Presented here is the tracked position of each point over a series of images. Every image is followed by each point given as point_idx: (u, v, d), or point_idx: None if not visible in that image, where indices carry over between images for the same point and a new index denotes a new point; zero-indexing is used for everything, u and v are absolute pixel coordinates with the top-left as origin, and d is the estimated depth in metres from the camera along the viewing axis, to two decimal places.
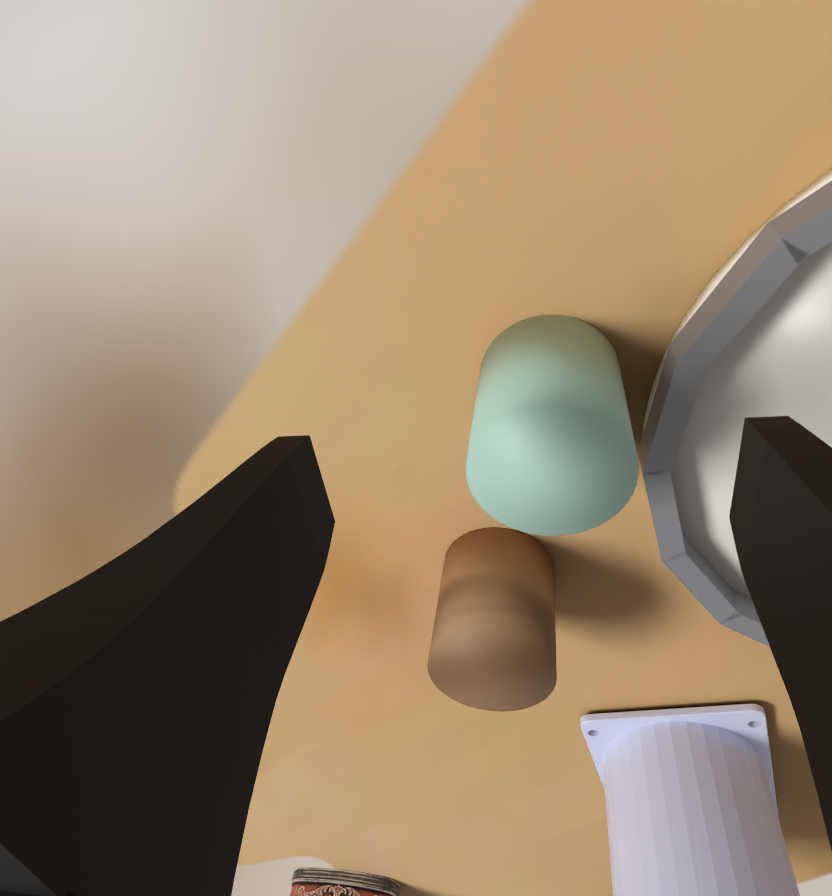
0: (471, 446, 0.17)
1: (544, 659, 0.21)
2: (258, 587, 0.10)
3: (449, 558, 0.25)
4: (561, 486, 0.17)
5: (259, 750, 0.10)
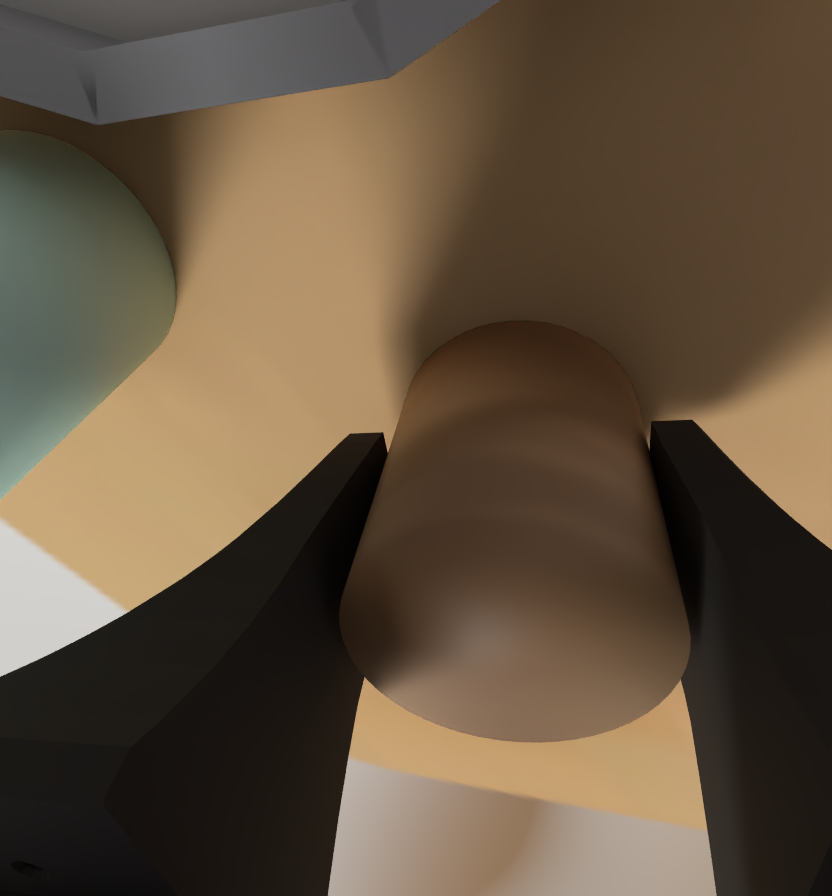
0: None
1: (448, 529, 0.07)
2: None
3: None
4: None
5: (346, 756, 0.09)
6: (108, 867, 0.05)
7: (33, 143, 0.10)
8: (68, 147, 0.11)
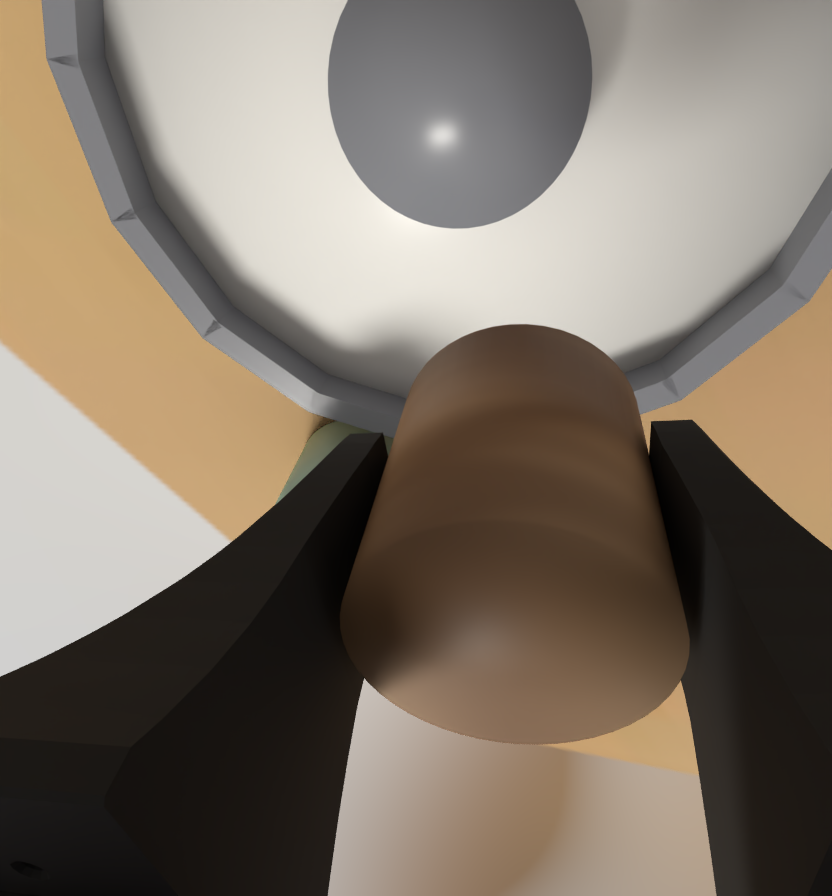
0: None
1: (448, 533, 0.07)
2: (344, 588, 0.09)
3: None
4: None
5: (345, 756, 0.09)
6: (107, 867, 0.05)
7: None
8: None
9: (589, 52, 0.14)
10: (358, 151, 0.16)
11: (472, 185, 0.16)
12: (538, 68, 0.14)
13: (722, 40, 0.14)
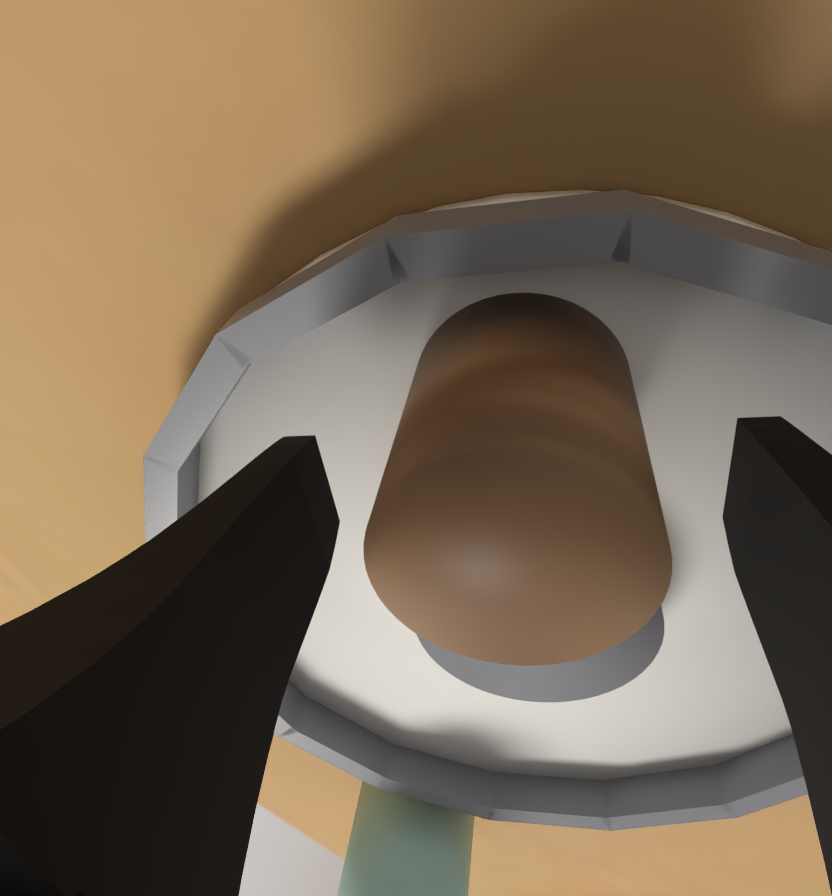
0: None
1: (461, 462, 0.08)
2: (265, 587, 0.10)
3: None
4: None
5: (266, 751, 0.09)
6: None
7: None
8: None
9: (662, 617, 0.15)
10: (438, 649, 0.17)
11: (545, 679, 0.17)
12: None
13: None
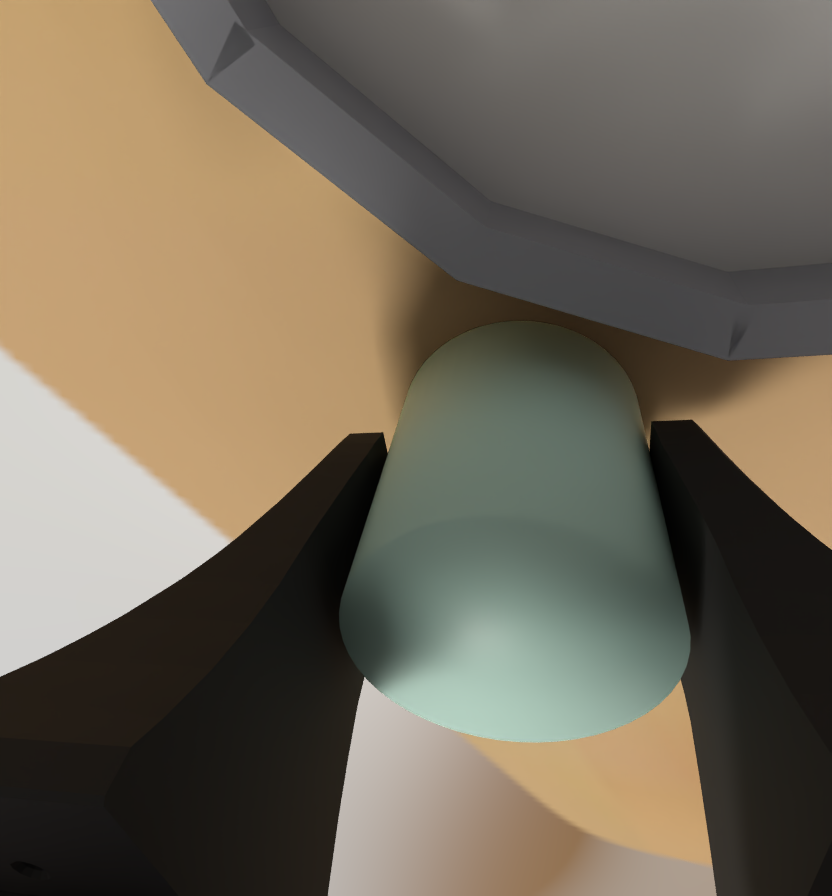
0: (425, 717, 0.10)
1: None
2: None
3: None
4: (544, 637, 0.08)
5: (345, 756, 0.09)
6: (108, 867, 0.05)
7: (565, 340, 0.11)
8: (579, 336, 0.11)
9: None
10: None
11: None
12: None
13: None
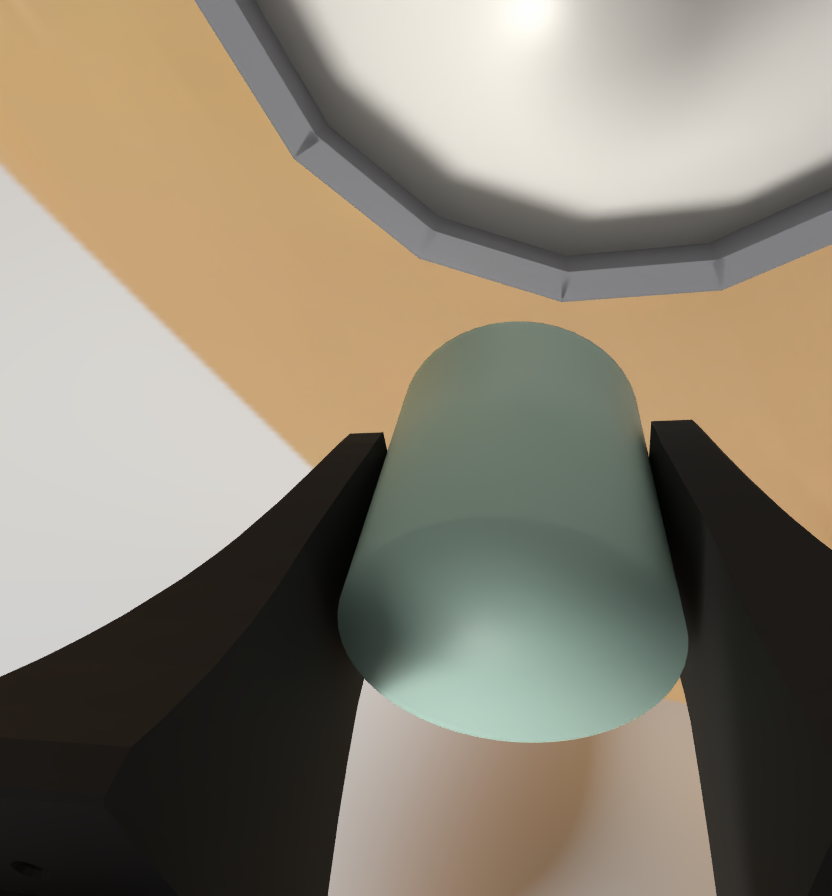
0: (423, 717, 0.10)
1: None
2: None
3: None
4: (542, 636, 0.08)
5: (345, 756, 0.09)
6: (108, 867, 0.05)
7: (563, 341, 0.11)
8: (577, 337, 0.11)
9: None
10: None
11: None
12: None
13: None
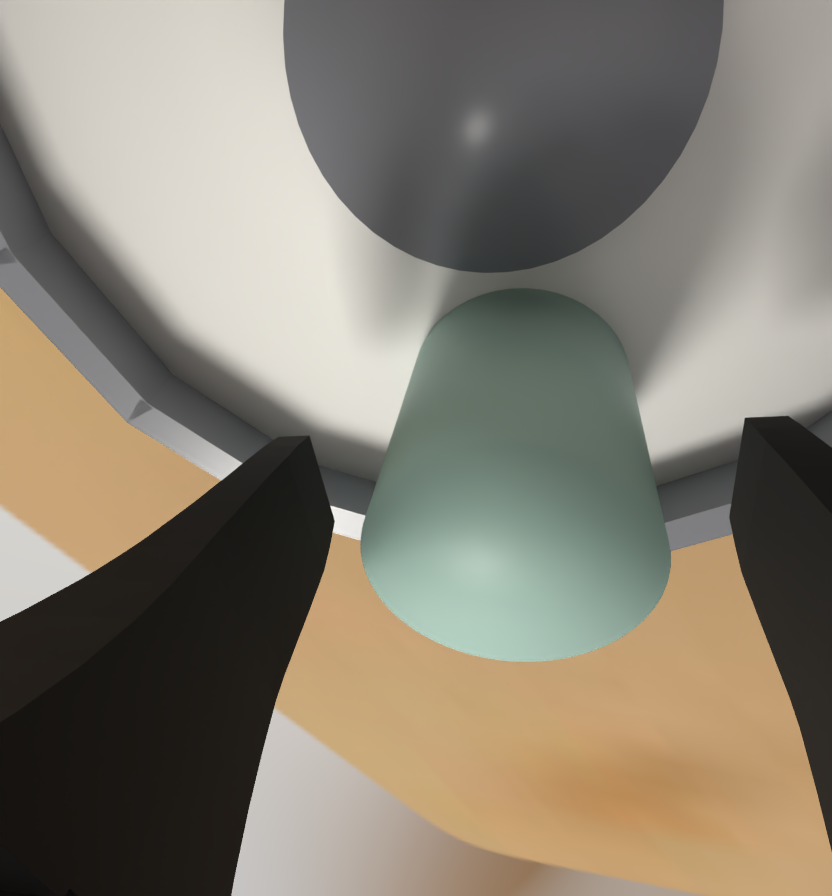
0: (435, 639, 0.11)
1: None
2: (258, 587, 0.10)
3: None
4: (542, 557, 0.09)
5: (259, 750, 0.10)
6: None
7: (561, 305, 0.12)
8: (574, 302, 0.12)
9: None
10: (336, 157, 0.10)
11: (515, 207, 0.10)
12: (631, 14, 0.08)
13: None
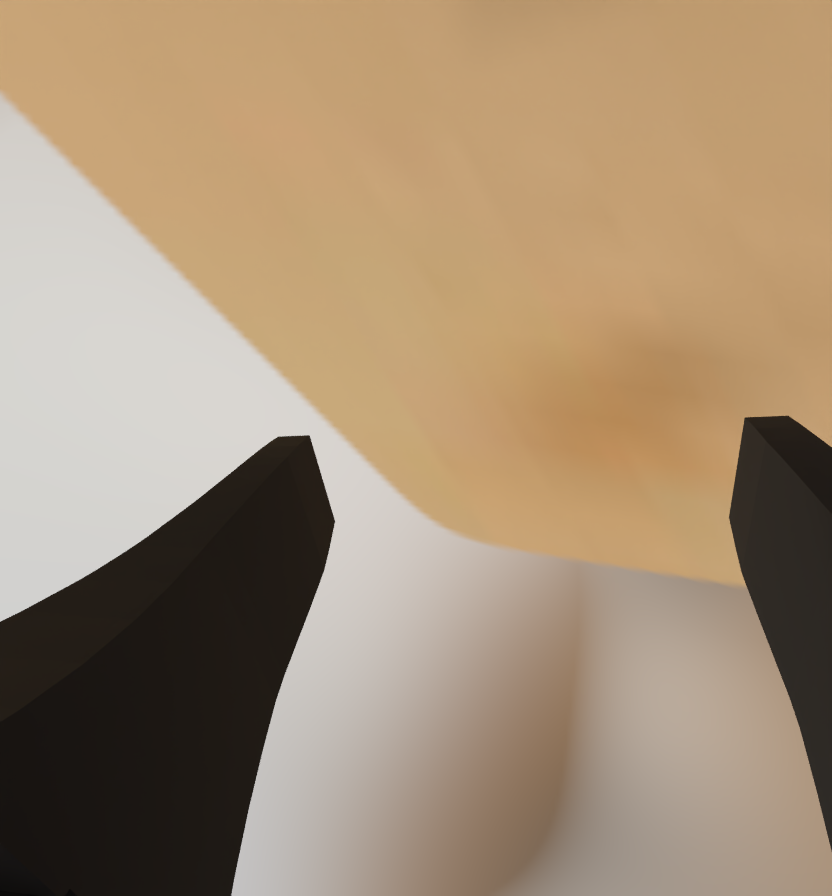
0: None
1: None
2: (258, 587, 0.10)
3: None
4: None
5: (259, 750, 0.10)
6: None
7: None
8: None
9: None
10: None
11: None
12: None
13: None
